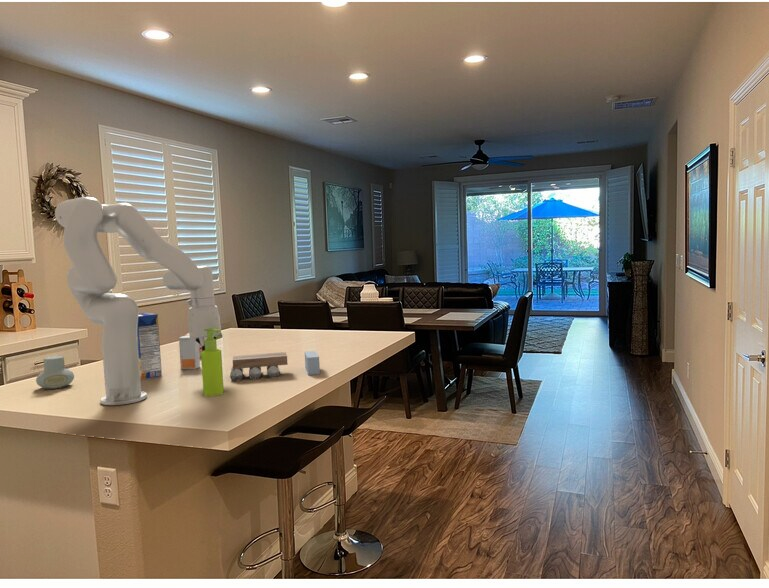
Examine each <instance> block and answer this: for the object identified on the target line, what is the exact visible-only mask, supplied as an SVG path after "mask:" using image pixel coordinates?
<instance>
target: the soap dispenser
mask: <svg viewBox="0 0 769 588" xmlns="http://www.w3.org/2000/svg"><path fill="white" fill-rule="evenodd" d="M204 331H207V339H206V340H205V350H204V351H202V352H201V357H200V363H201V373H202V375H201V376H202V390H203V391H202V392H203V396H205V397H215V395H217V396H221V395H223V394H224V393H225V392H224V390H225V389H224V376H223V375H224V373H223V360H222V359H223V358H222V357H223V355H222V350H221V349H218V347H217V340H216V339H215V338H213V337H214V336H213V332H220V331H221V332H222V329H221V330H220V329H217V328H209V329H204ZM220 394H221V395H220Z"/></svg>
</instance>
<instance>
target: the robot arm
mask: <svg viewBox="0 0 769 588" xmlns="http://www.w3.org/2000/svg"><path fill="white" fill-rule="evenodd" d="M54 216H55V219H56V222H57V223H58V224H59V225H60V226H61V227H62V228H64V231H63V235H62V236H63V237H62V238H63V239H62V240H63V247H64V250H65V252H66V255H67V256H68V258H69V261H70V262H71V264H72V265H71V266H70V267H69V269H68V271H67V274H66V281H67V286H68V288H69V290H70V292H71V293H72V295H73V297H74V299H75V300H76V302H77V303H78V305H79V307H80V308H81V310H82V312H83V313H84V314H85V316H86V317H87V318H88V320H90V321H91V322H92V323H93V324H97V325H101V326H102V325H103V329H102V330H103V331H102V335H101V350H102V364H103V374H104V376H103V377H104V386H105V387H104V388H105V396H102V397H101V398H100V401H99V402H100V404H101V405H104V406H121V405H128V404H135V403H137V402H141V401H143V400H145V399H146V398H148V393H147V392H146V391H144V390H142V385H141V379H140V368H139V354H138V341H137V324H138V316H139V313H140V311H139V305H138V303H137V302H136V301H135V299H133V298H132V297H131V296H129V295H127V294H123V293H111V291H113V290H114V289H115V288H116V285H117V284H118V277H117V275H116V271H115V270H114V268H113V267H112V265H111V263H110V261H109V260H108V258H107V257H106V256H107V255H106V254H105V253H104V251H103V248H102V246H101V244H100V242H99V238H98V237H99V236H98V233H101V234H103V233H104V234H105V233H107V234H108V233H109V234H110V233H111V234H112V233H113V234H114V233H118V234H119V235H120V236H121V237H122V238H123V239H124V240H125V242H127V244H128V245H130V247H131V248H132V249H133V250H134V252H135V253H137V254H138V256H140V257H142V258H144V259H146V260H147V261H151V262H153V263H157V264H159V265H160V266H162V267H164V268H166V269H167V270H166V271H165V272H164V273H163V276H162V282H163V285H164V286H165V287H166V288H168V289H169V290H172V291H180V292H181V291H186V292H187V291H188V292H189V293H190V299H188V300H186V305H187V306H188V305H189V306H190V307H189V308H188V319H187V320H188V333H189V335H190V338H189V340H190V341H196V342H198V343H199V344H200V345H201V346H202V351H204V350H205V340H204V337H207V331H204V329H209V328H217V329H220V330H221V331H220V332H213V338H215V339H216V341H217V340H220V339H222V338H223V335H224V334H223V333H222V324H221V316H220V312H219V308H218V306H217V305H216V302H215V292H214V291H215V290H214V279H213V277H214V275H213V269H212V267H211V266H210V265H199V266H198V265H197V264H196V263H195V262H194V260H193V259H191V257H189V256H188V255H187V253H185V252H184V251H182V250H181V249H179V247H177V246H175V245H174V244H173V243H171V242H169V241H168V240H166V239H164V238H163V237H162V236H161V235H160V233H159V232H158V231H157V230H156V229H155V228H154V227H153V226H152V225H151V224H150V222H149V221H148V220H147V219H146V217H144V216H143V215H142V213H140V211H139V210H138V209H137V208H136V207H135V206H133V205H132V204H130V203H127V202H119V203H113V204H102V203H101V202H100V201H99V200H98V199H97V198H95V197H90V196H82V197H81V196H80V197H77V198H71V199H67V200H64V201H61V202H60V203H59V204H58V205H57V206H56V208H55V209H54Z"/></svg>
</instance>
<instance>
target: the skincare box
mask: <svg viewBox="0 0 769 588" xmlns="http://www.w3.org/2000/svg"><path fill="white" fill-rule="evenodd" d="M189 338H190V336H185V335H183V336H179V337H178V342H179V344H178V345H179V364H180V370H197V369H199V368H200V366H201V364H200V363H201V357H199V343H198V342H196V341H190V340H189ZM196 368H197V369H196Z"/></svg>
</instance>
